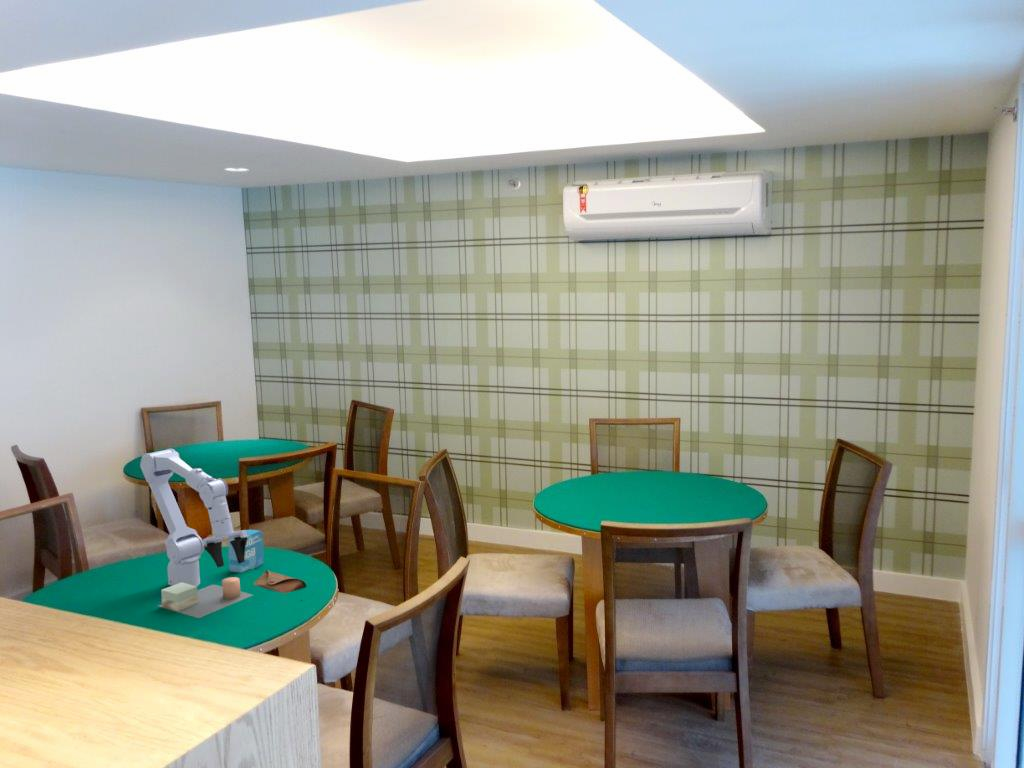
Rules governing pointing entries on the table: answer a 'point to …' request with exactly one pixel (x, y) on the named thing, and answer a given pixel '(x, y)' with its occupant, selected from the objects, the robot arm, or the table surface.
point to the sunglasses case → (279, 582)
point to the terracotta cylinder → (231, 588)
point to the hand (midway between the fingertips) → (231, 564)
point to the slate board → (210, 601)
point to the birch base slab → (180, 603)
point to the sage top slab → (179, 592)
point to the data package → (248, 552)
